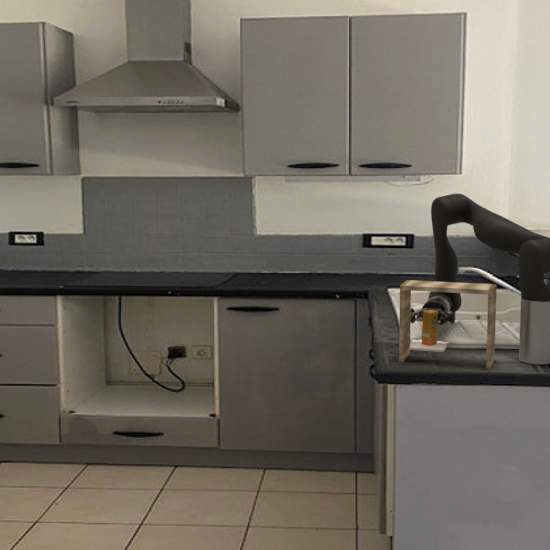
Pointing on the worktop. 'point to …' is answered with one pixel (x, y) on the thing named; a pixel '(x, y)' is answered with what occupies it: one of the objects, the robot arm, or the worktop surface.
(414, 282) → the shelf bay
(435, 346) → the tile pad
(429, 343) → the supplement box
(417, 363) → the worktop surface
